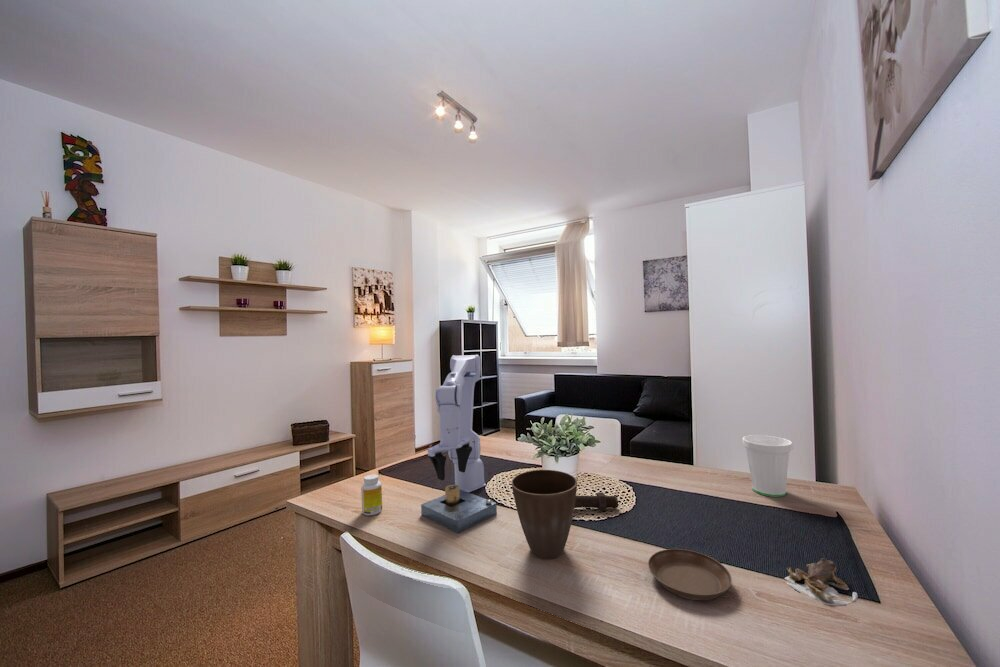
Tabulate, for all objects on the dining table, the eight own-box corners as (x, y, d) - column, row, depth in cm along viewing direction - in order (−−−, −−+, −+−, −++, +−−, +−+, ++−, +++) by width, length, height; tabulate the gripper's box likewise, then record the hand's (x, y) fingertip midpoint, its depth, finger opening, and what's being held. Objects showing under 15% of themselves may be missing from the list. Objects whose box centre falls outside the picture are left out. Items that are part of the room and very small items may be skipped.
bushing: (453, 507, 116) (452, 483, 116) (463, 511, 113) (462, 486, 113) (443, 512, 113) (442, 487, 113) (452, 516, 110) (451, 491, 110)
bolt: (618, 516, 110) (563, 516, 111) (614, 501, 114) (561, 500, 115) (620, 503, 107) (565, 502, 108) (616, 487, 112) (563, 486, 112)
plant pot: (573, 575, 81) (570, 497, 81) (505, 563, 86) (502, 490, 86) (584, 538, 95) (581, 472, 95) (524, 530, 100) (522, 467, 100)
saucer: (693, 619, 68) (692, 603, 68) (632, 572, 82) (632, 559, 82) (750, 593, 74) (749, 579, 74) (684, 554, 88) (684, 542, 88)
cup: (746, 480, 127) (744, 432, 127) (794, 488, 120) (792, 437, 120) (742, 494, 117) (740, 442, 117) (795, 503, 109) (792, 448, 109)
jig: (459, 498, 122) (459, 486, 122) (496, 513, 110) (496, 500, 110) (421, 515, 112) (420, 501, 112) (458, 533, 100) (457, 518, 100)
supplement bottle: (385, 512, 114) (384, 476, 114) (366, 518, 111) (365, 481, 111) (377, 506, 119) (376, 472, 119) (359, 511, 115) (358, 476, 115)
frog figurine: (799, 561, 84) (798, 543, 84) (872, 594, 73) (871, 573, 73) (766, 577, 79) (765, 558, 79) (839, 615, 68) (838, 593, 68)
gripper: (437, 435, 105) (440, 486, 105) (478, 424, 115) (480, 471, 115) (422, 431, 110) (424, 480, 110) (462, 421, 120) (464, 466, 120)
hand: (451, 475), depth 113 cm, fingers open, 7 cm apart
